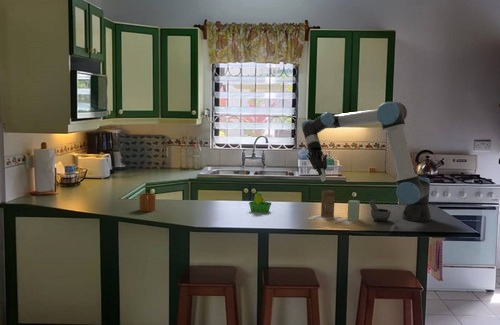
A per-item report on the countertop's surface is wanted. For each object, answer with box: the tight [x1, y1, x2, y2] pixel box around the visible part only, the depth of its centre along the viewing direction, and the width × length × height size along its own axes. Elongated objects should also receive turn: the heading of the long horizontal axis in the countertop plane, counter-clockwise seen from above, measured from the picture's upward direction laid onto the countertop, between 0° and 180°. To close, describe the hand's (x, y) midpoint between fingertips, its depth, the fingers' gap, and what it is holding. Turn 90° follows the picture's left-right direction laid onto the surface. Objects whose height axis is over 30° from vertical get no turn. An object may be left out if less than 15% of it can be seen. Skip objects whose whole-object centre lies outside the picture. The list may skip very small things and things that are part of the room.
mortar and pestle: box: [368, 199, 392, 223], centre depth 276 cm, size 11×9×12 cm
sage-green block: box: [346, 199, 361, 223], centre depth 275 cm, size 5×5×10 cm
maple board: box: [306, 213, 361, 226], centre depth 277 cm, size 24×14×2 cm, turn 58°
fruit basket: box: [248, 192, 272, 214], centre depth 300 cm, size 11×9×11 cm
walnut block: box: [320, 189, 336, 218], centre depth 281 cm, size 5×5×14 cm
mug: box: [138, 192, 156, 213], centre depth 296 cm, size 9×12×9 cm
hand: (323, 180), depth 290 cm, fingers closed
